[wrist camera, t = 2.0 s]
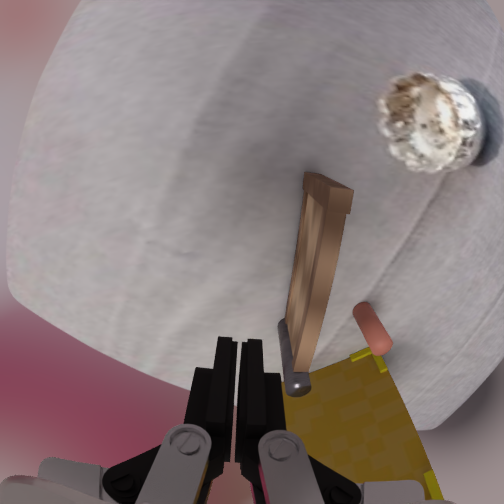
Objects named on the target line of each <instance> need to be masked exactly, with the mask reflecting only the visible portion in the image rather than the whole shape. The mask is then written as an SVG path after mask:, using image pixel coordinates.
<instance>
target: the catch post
mask: <svg viewBox="0 0 504 504" xmlns="http://www.w3.org/2000/svg"><path fill="white" fill-rule="evenodd" d="M353 316H354V318H355V320H356V322H357V323H358V325H359V327H360V329H361V331H362V333H363V335H364V337H365V339H366V341H367V343H368V345H369V347H370V349H371V351H372V353H373V354H374V355H376V356H381V355H384V354H385V353H387V352H388V351H389V350H390V349H391V347H392V345H393V342H392V340H391V338H390V336H389V335H388V333H387V331H386V330H385V328H384V326H383V325H382V323H381V322H380V320H379V318H378V317H377V315H376V314H375V312H374V310H373V309H372V307H371V306H370V304H369V303H367V302H361V303H359V304H357V305H356V306H355V307H354V309H353Z"/></svg>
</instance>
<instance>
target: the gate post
mask: <svg viewBox="0 0 504 504" xmlns="http://www.w3.org/2000/svg"><path fill="white" fill-rule="evenodd" d="M278 334H279V342H280V350H281V358H282V367H283V375H284V384H285V392H286V394H287V395H288V396H291V397H302V396H305V395H306V394H308V393H309V392H310V391H311V388H312V387H311V382H310V377H309V373H308V372H293V367H292V360H293V354H292V349H291V343H290V337H289V331H288V325H287V324H285V318H284V319H282V320H281V321H280V322H279V323H278Z"/></svg>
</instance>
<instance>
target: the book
mask: <svg viewBox="0 0 504 504" xmlns="http://www.w3.org/2000/svg"><path fill="white" fill-rule="evenodd" d="M309 377H310V382H311V387H312V388H311V391H310V392H309V393H308V394H306V395H305V396H302V397H291V396H288V395H287V394H286V392H285V384H284V382H282V383H281V384H282V393H283V402H284V411H285V420H286V429H287V431H290V432H292V433H294V434H296V435H297V436H298V437H299V438H301V440H302V442H303V443H304V446H305V449H306V452H307V454H308V455H310V456H311V457H313V458H314V459H316V460H317V461H319V462H321V463H322V464H324V465H325V466H327V467H329V468H330V469H332V470H334V471H335V472H337V473H339V474H340V475H342V476H344V477H346V478H347V479H349V480H351V481H353V482H354V483H364V482H380V481H400V480H415V481H417V482H419V483H420V484H421V485H422V486H423V489H424V496H425V500H444V498H443V496H442V493H441V490H440V487H439V484H438V482H437V479H436V476H435V474H434V471H433V469H432V467H431V465H430V462H429V460H428V458H427V455H426V452H425V450H424V447H423V445H422V443H421V440H420V438H419V436H418V433H417V431H416V429H415V426H414V424H413V422H412V420H411V417H410V415H409V413H408V411H407V409H406V406H405V404H404V402H403V400H402V398H401V396H400V394H399V392H398V389H397V387H396V385H395V383H394V381H393V379H392V377H391V375H390V373H389V371H388V369H387V366H386V364H385V362H384V360H383V358H382V356H376V355H374V354H373V353H372V351H371V349H370V347H367V348H365V349H363V350H361V351H358V352H356V353H354V354H351V355H350V358H348V359H345V360H343V361H340V362H338V363H335V364H333V365H330V366H327V367H325V368H322V369H319V370H317V371H314V372H311V373H309Z"/></svg>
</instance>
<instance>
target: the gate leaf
mask: <svg viewBox="0 0 504 504" xmlns="http://www.w3.org/2000/svg"><path fill="white" fill-rule="evenodd" d="M303 189H304V196H303V204H302V211H301V218H300V226H299V233H298V240H297V246H296V253H295V259H294V266H293V272H292V278H291V284H290V290H289V296H288V302H287V308H286V314H285V324H287V325H288V331H289V337H290V343H291V349H292V354H293V360H292V367H293V372H309V368H310V365H311V362H312V358H313V355H314V352H315V348H316V345H317V341H318V338H319V334H320V330H321V327H322V323H323V319H324V315H325V312H326V308H327V304H328V300H329V295H330V291H331V287H332V283H333V278H334V274H335V269H336V265H337V260H338V255H339V251H340V246H341V241H342V235H343V230H344V225H345V219H346V214H350V211H351V205H352V199H353V193H354V190H352V189H350V188H348V187H346V186H344V185H342V184H340V183H338V182H336V181H334V180H332V179H330V178H328V177H326V176H324V175H322V174H316V173H308V172H304V181H303Z"/></svg>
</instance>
